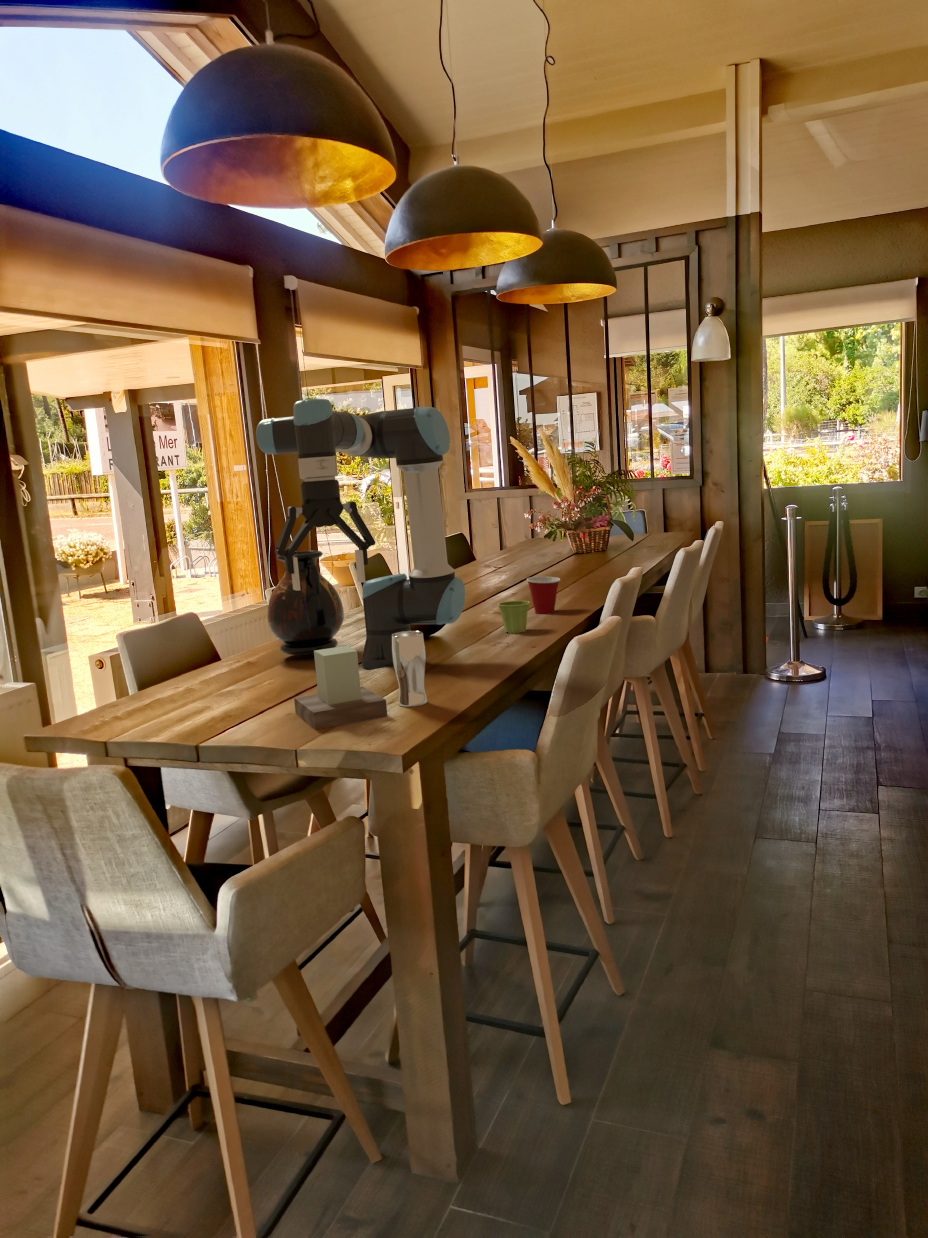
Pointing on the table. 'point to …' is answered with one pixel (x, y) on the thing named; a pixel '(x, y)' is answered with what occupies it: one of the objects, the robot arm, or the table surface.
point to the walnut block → (340, 710)
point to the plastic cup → (543, 593)
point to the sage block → (337, 675)
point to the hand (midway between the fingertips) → (329, 586)
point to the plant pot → (514, 615)
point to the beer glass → (409, 667)
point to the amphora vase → (305, 609)
